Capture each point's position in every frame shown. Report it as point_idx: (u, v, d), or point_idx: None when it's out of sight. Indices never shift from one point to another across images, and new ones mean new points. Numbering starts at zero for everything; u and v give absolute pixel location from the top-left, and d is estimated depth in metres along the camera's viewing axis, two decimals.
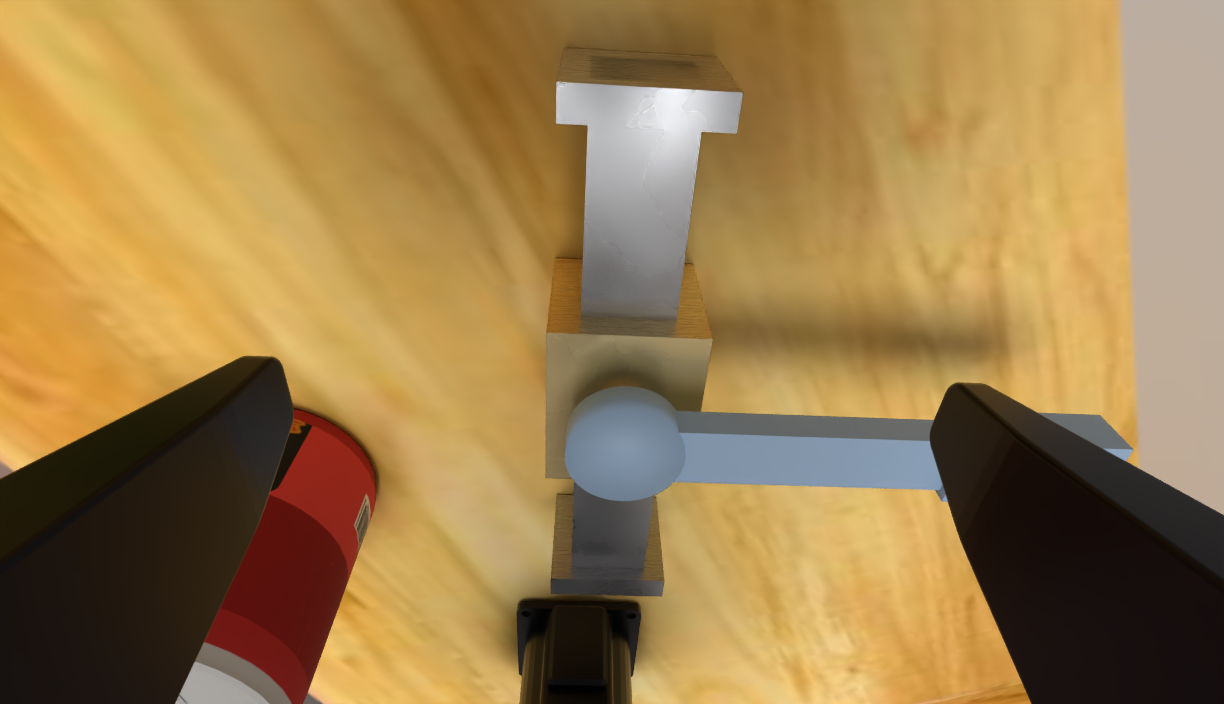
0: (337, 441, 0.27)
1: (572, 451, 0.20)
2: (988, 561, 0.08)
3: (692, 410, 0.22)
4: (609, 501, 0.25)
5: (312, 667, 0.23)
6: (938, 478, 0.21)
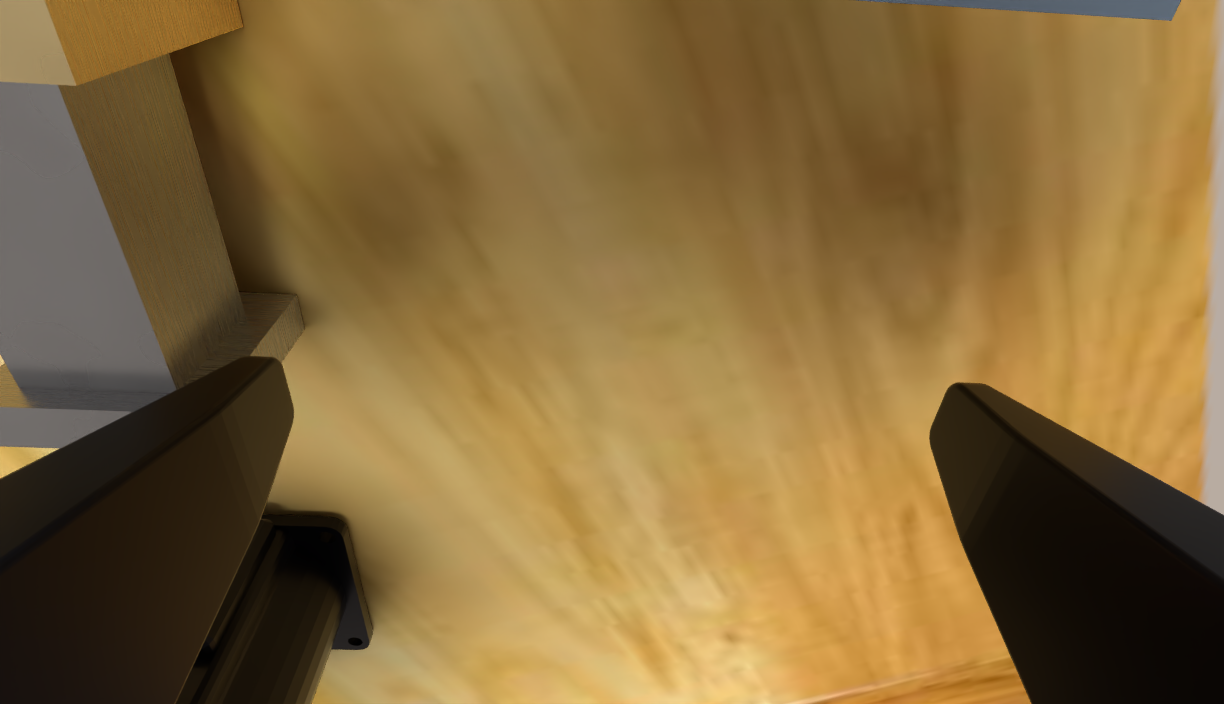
0: None
1: None
2: (988, 561, 0.08)
3: None
4: None
5: None
6: None
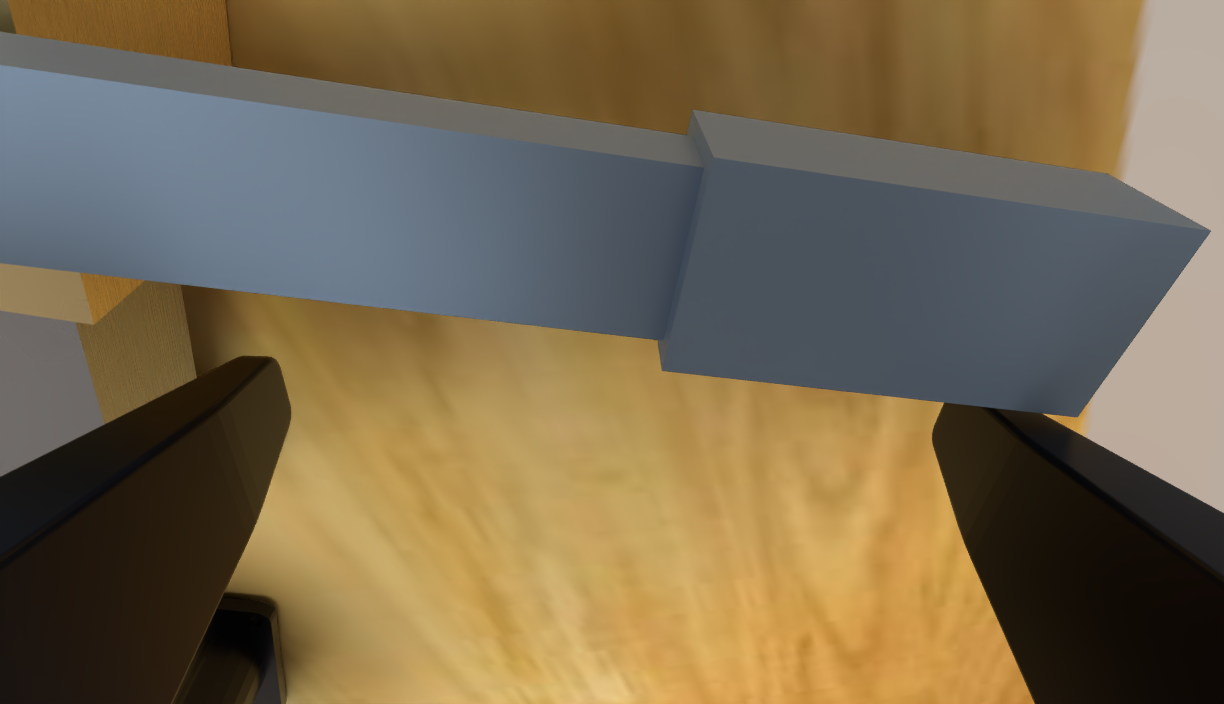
0: None
1: None
2: (991, 561, 0.08)
3: None
4: None
5: None
6: (652, 300, 0.07)
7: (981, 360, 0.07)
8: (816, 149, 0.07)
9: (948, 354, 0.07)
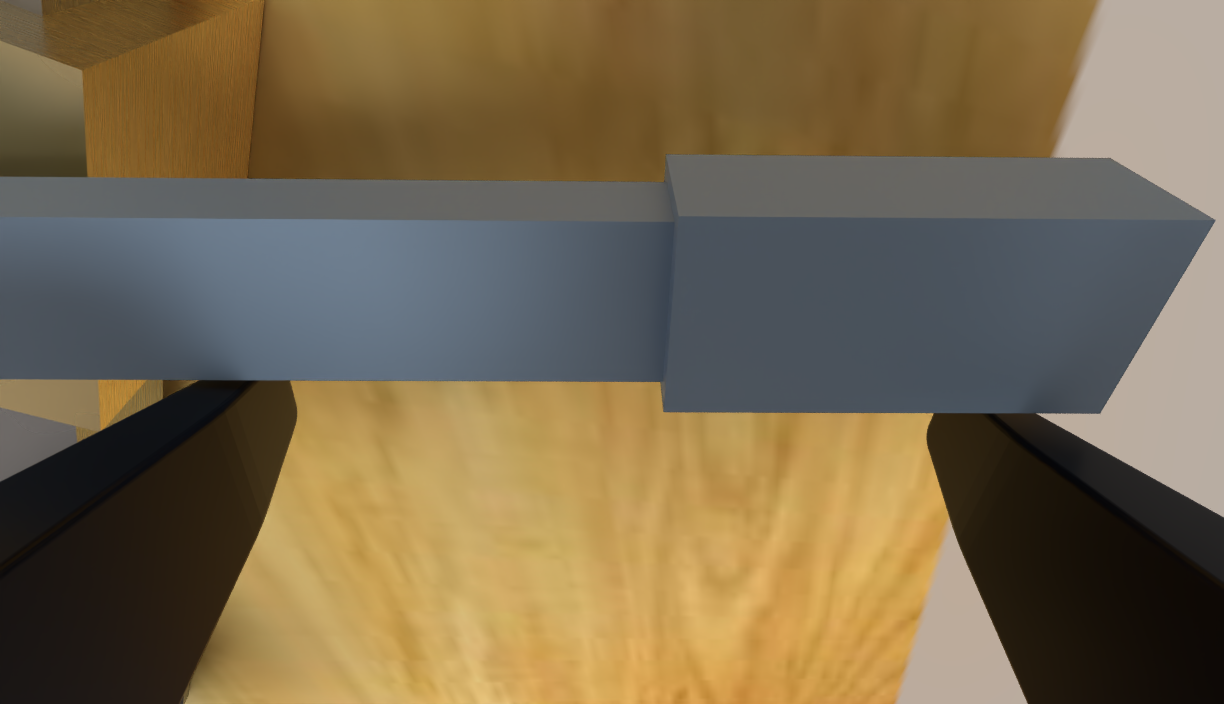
0: None
1: None
2: (985, 561, 0.08)
3: None
4: None
5: None
6: (645, 346, 0.07)
7: (986, 370, 0.07)
8: (788, 184, 0.07)
9: (950, 368, 0.07)
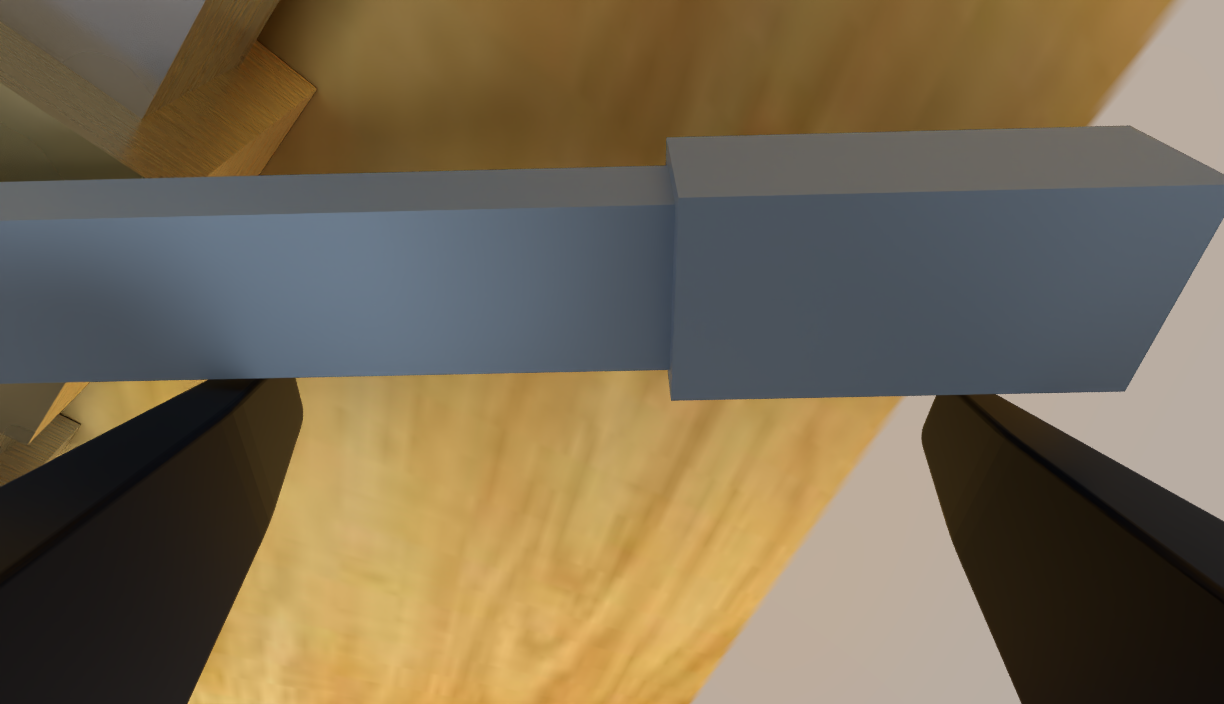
0: None
1: None
2: (979, 561, 0.08)
3: None
4: None
5: None
6: (650, 334, 0.07)
7: (1003, 348, 0.07)
8: (791, 163, 0.07)
9: (965, 347, 0.07)
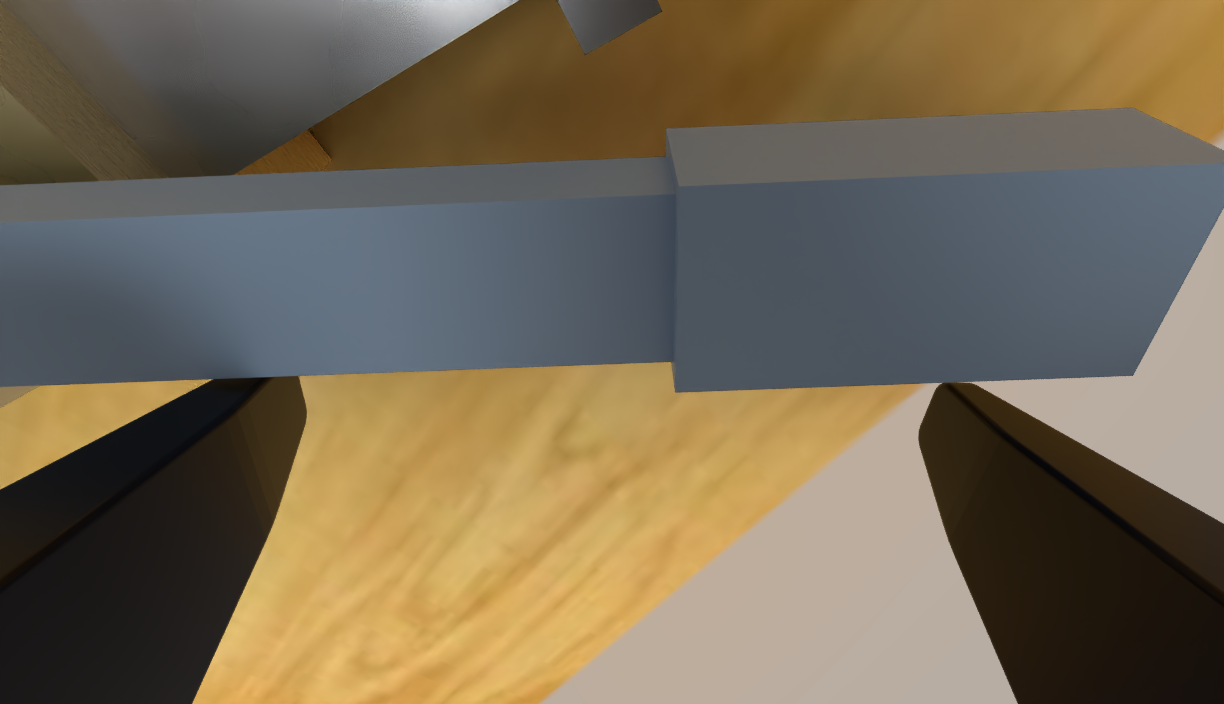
0: None
1: None
2: (975, 561, 0.08)
3: None
4: None
5: None
6: (653, 325, 0.07)
7: (1009, 334, 0.07)
8: (792, 150, 0.07)
9: (971, 333, 0.07)
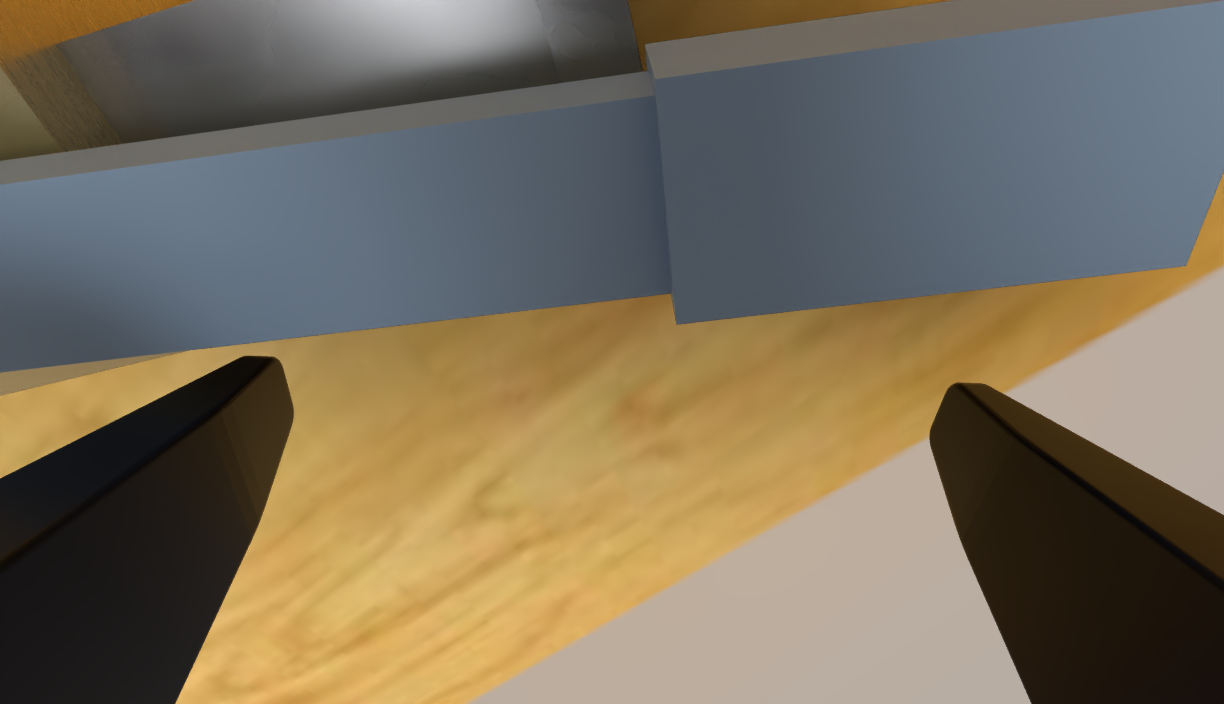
0: None
1: None
2: (988, 561, 0.08)
3: (27, 371, 0.10)
4: None
5: None
6: (646, 252, 0.07)
7: (1039, 226, 0.06)
8: (779, 42, 0.06)
9: (996, 229, 0.06)
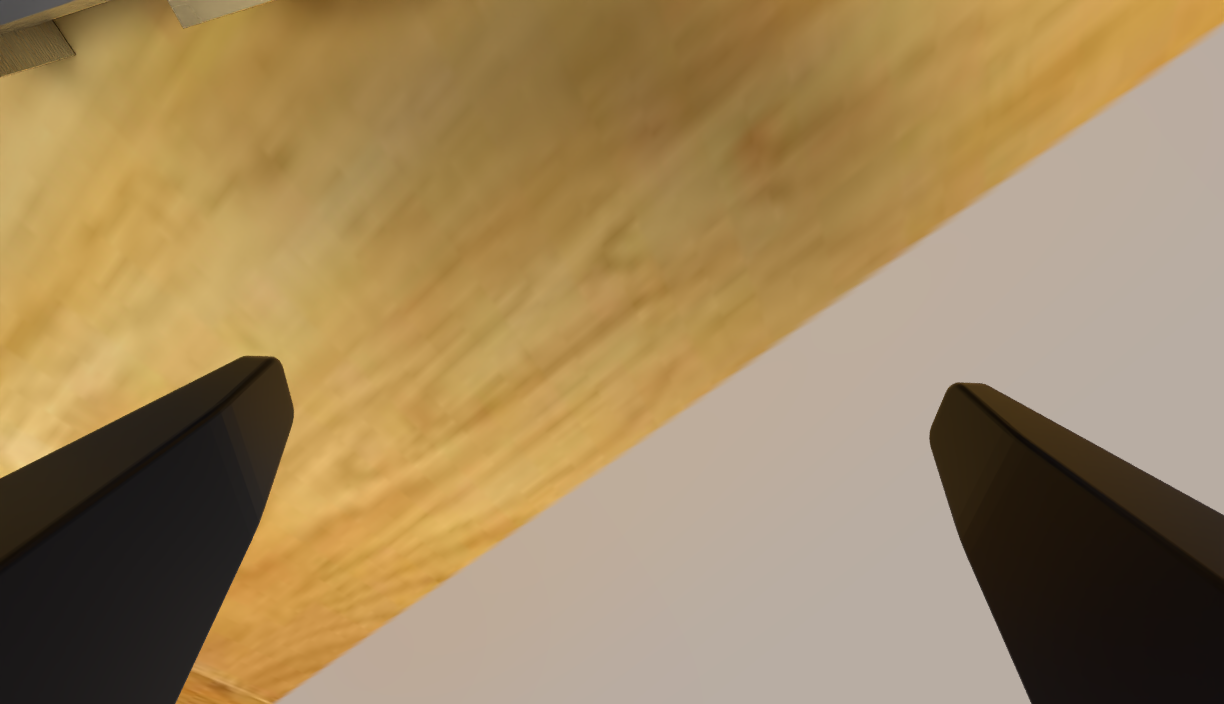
0: None
1: None
2: (988, 561, 0.08)
3: None
4: None
5: None
6: None
7: None
8: None
9: None
